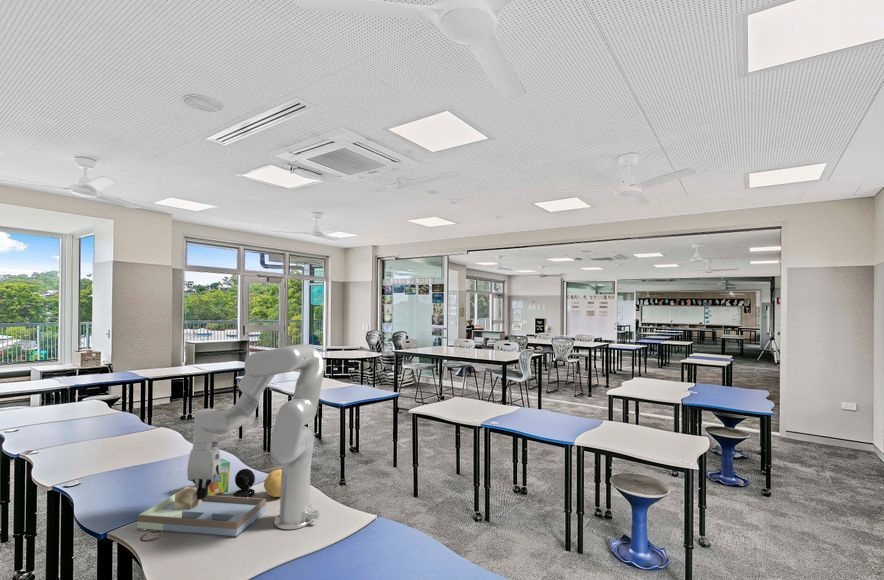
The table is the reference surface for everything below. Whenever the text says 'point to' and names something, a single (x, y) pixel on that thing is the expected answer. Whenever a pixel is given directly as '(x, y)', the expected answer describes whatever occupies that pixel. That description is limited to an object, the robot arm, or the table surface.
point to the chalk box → (220, 480)
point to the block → (186, 498)
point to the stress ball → (273, 483)
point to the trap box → (204, 516)
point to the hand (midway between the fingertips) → (201, 498)
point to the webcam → (244, 483)
